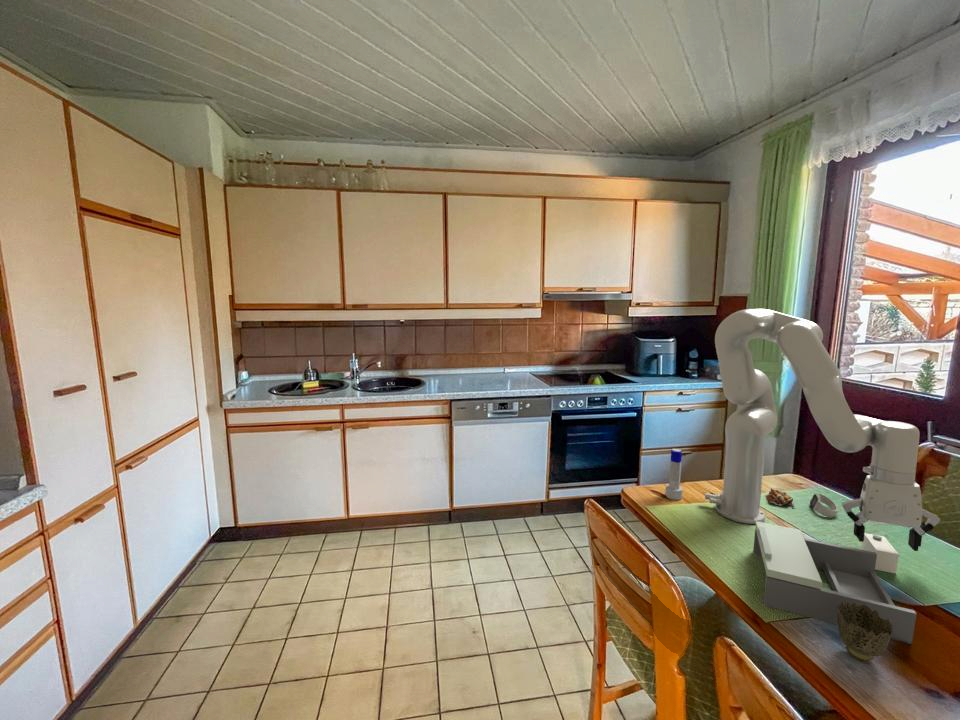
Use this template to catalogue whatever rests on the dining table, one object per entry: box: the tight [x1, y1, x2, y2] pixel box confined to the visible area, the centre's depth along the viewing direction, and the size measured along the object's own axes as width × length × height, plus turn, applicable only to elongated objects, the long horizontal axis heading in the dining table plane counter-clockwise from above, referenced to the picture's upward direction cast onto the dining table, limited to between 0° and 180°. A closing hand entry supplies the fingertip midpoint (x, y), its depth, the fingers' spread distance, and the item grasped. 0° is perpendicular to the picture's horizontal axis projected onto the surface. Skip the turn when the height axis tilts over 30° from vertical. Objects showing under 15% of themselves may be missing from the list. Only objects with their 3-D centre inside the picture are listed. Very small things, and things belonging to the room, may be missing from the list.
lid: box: [755, 521, 823, 589], centre depth 96 cm, size 9×21×3 cm, turn 153°
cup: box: [837, 602, 894, 663], centre depth 76 cm, size 8×7×8 cm
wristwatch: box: [809, 492, 839, 518], centre depth 128 cm, size 9×6×5 cm
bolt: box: [664, 448, 684, 501], centre depth 136 cm, size 16×5×5 cm
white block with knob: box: [860, 532, 900, 574], centre depth 103 cm, size 4×8×6 cm, turn 155°
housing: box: [752, 528, 917, 645], centre depth 93 cm, size 23×21×6 cm
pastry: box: [765, 487, 797, 510], centre depth 135 cm, size 7×12×4 cm, turn 158°
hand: (885, 543), depth 102 cm, fingers open, 9 cm apart
